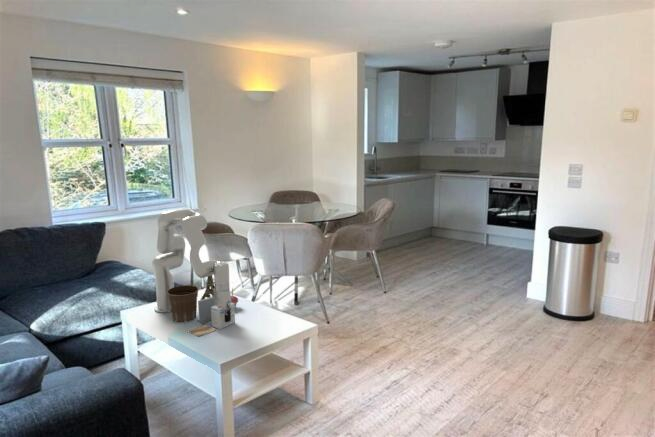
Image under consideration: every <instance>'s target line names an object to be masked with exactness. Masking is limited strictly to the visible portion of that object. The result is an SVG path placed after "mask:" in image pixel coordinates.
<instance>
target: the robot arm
mask: <svg viewBox="0 0 655 437" xmlns="http://www.w3.org/2000/svg"><path fill="white" fill-rule="evenodd" d="M176 226H177V227H178V226H180V228H181V230H182V233H183V234H184V236H183V235H181V234H179V233H175V232H176V231H175V227H176ZM157 227H158V232H157V240H156V241H157V242H156V250H157V252H158V253H159V254H160V255H157V256H156V257H154V258H153V260H152V263H151V264H152V268H153V272H154V280H155V291H156V301H155V302H156V306H155V307H154V312H156V313H172V311H171V305H170V300H169V297H168V294H167V291H168V290H169V289H171V288H173V287H175V285H174V283H175V282H174V276H173V275H172V273H171V272H170V271H171V270H176V269H179V268H180V267H182V265H184V260H185V253H186V241H185V238H186V240H187V241H188V244H189V246H190V252H189V264H190V266H191V268H192V269H193V270H192V271H193V272H194V274H195V275H196V276H197V277H198V278H200V279H204V278H208V276H211V275H212V276H213V282H214V286H215V289H214V294H213V306H218V307H221V308H223V311H224V310H225V314H226V315H225V322H229V321H231V312H232V311H233V307H232V306H231V296H232V293H231V289H230V285H231V284H230V266H229V263H227V262H222V261H220V260H219V259H211V260H208V261H204V262H202V260H201V257H200V250H201V249H202V247H203V246H205V245H206V243H207V239H206V236H205V235H204V233H203V230H205V229H207V227H208V221H207V219H206V217H205V216H204V215H202V214H201V213H199V212H197V211H194V210H193V209H190V208H179V209H172V210H166V211H163V212H161V213H159V215H158V217H157ZM184 237H185V238H184ZM227 307H228V308H227ZM226 308H227V309H226ZM227 310H228V312H227Z"/></svg>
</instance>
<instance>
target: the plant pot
mask: <svg viewBox="0 0 655 437" xmlns="http://www.w3.org/2000/svg"><path fill="white" fill-rule="evenodd" d="M199 290H200V288H199V287H198V286H197V285H188V284H187V285H178V286H174V287H173V288H171V289H169V290H168V291H167V294H168V297H169V300H170V305H171V317H172V321H173V322H175V323H178V324H179V323H186V322H187V323H188V322H192V321H194V320H195V319H196V318H197V313H198V311H197V310H198V309H197V308H198V307H197V306H198V296H199Z"/></svg>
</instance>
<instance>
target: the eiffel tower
mask: <svg viewBox="0 0 655 437" xmlns="http://www.w3.org/2000/svg"><path fill="white" fill-rule="evenodd" d="M206 281H207V282H206V283H205V285H206V287H205V290H204V293H203V295H202V296H201V298H200V300H203V299H206V298H210V297H213V294H214V289H215V285H214V277H213V275H211V276H208V277H207V280H206ZM200 300H198V301H200Z"/></svg>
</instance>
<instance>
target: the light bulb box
mask: <svg viewBox="0 0 655 437" xmlns="http://www.w3.org/2000/svg"><path fill="white" fill-rule="evenodd" d="M231 306H232V307H233V311H232V312H231V321H229V322H225V315H226V314H225V310H224V311H223V308H221V307H218V306H212V307H211V317H212V321H211V327H212V328H214V329H218V330H221V329H224V328H226V327H228V326H231V325H234V324H235V323H236V312H235V311H236V310H235V309H236V307H234V303H231ZM227 308H228V307H227ZM227 308H226V309H227ZM227 312H228V310H227Z"/></svg>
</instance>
